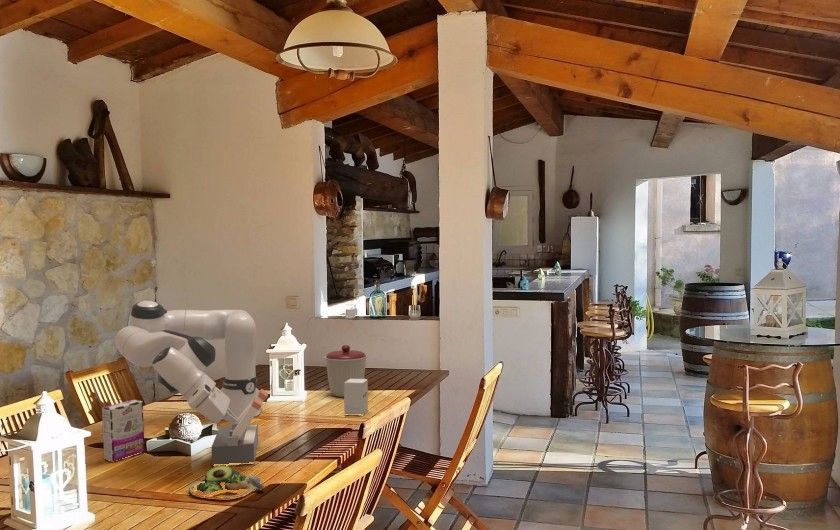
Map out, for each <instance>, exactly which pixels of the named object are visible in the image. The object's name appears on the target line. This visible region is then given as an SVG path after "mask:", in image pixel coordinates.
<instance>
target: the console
mask: <svg viewBox="0 0 840 530" xmlns="http://www.w3.org/2000/svg"><path fill="white" fill-rule="evenodd" d="M237 418H238V417H237ZM237 425H238V423H235V424H234V425H232V424H231V425H220V426H219V428H218V430H217V432H216V435H215V438H214V440H213V442H212V444H211V466H212V465H214V464H229V463H249V462H254V461H255V462H256V458H255V455H256V456H257V452H256V450H257V451H258V447H257V445H259V424H258V423H255V424H251V423H250V424H249V425H248V427H247V428H246V430H245V431H244V433H243V434H242V436H241V437H240V439H239V440H238V436H233V437H232V433H233V431H234V429H235V428H236V426H237Z"/></svg>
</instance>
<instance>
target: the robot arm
mask: <svg viewBox="0 0 840 530" xmlns="http://www.w3.org/2000/svg"><path fill="white" fill-rule="evenodd" d="M256 327H257V325H256V322H255V320H254V318H253V317H252V315H251V314H250V313H249V312H247V310H243V309H216V310H215V309H214V310H212V309H211V310H202V309H197V310H196V309H173V310H167V309H165V308H164V306H163V305H161V303H159V302H158V301H157V302H156V301H152V300H142V301H137V302H136V303H135V304H133V305H132V308H131V312H130V322H129V325H128V326H125V327H123V328H121V329H120V330H118V332H117V333H116V335H115V339H114V343H115V347H116V349H117V350H118V351H119V352H118V353H120V354H121V356H123V358H125V359H126V360H127V361H128V362H129V363H132V364H133V365H135V366H136V367H137V366H138V367H141V368H142V367H143V368H148V367H153V369H154V370H155V371H156V372H157V383H158V384H161V385H162V387H164V388H165V389H166V390H167V391H168V392H169V394H170V395H171V394H179V393H180V396H182V397H183V398H184V399H185V400H186V401H187V404H188V407H190V408H191V409H192V410H197V411H198V412H199V413H200V414H201V415H202V416H203V417H205V418H206V419H207V420H208V421H210V422H211V423H213V424H215V425H218V424H219V423H220V422H221V421H222V420H223V421H226V422H229V423H230V424H231V426H232V425H234V424H235V423H236V422H237V420H238V418H237V417H239V416H240V415H241V414H242V412H243V411H244V410H245V409H246V408H247V406H248V405H249V404H250V403H251V401H252V400H253V399H254V398H255V397H256V395H257V394H258V392H259V391H260V390H259V389H258V388H257V386H258V377H257V375H256V348H257V347H256V346H257V345H256V343H257V341H256V339H257V338H256V337H257V328H256ZM211 340H224V371H225V373H224V375H225V376H224V378H221V379H220V380H221V383H222V386H221V389H219V388H218V387H217V386H216V385H217V383H216V382H215V381H214V380H213V379H212V378H210V377H209V376H208V374H207V373H205V372H204V371H205V370H206V368H208V367H209V366H211V365H212V364H213V363H214V362H215V360H216V352H217V351H216V348H215V347H214V345H213V344H212V343H211V342H210V341H211ZM262 411H263V406H261V408H260V409H259V410H258V412H257V413H256V415H255V416H254V417H257V416H260V415H261V413H262Z"/></svg>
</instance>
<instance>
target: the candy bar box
mask: <svg viewBox="0 0 840 530" xmlns="http://www.w3.org/2000/svg"><path fill="white" fill-rule="evenodd" d="M101 417H102V419H101V420H102V437H103V438H102V441H103V460H104V459H106V460H110V461H116V460H119V459H122V458H125V457H128V456H131V455H134V454H137V453H140V452H143V451H145V452H146V449H145V448H146V446H145V429H144V427H145V426H144V424H145V423H144V403H143V400H139V399H131V400H127V401H123V402H119V403H115V404H111V405H107V406H106V405H105V406H103V407H101Z"/></svg>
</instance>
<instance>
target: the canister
mask: <svg viewBox="0 0 840 530" xmlns="http://www.w3.org/2000/svg"><path fill="white" fill-rule="evenodd" d="M323 358H324V359H325V363H326V373H327V380H328V388H329V392H330V393H331V395H332V396H334V397H339V398H344V382H346V381H347V380H349V379H365V370H366V364H367V363H366V359H367V358H368V354H366V353H365V352H363V351H359V350H352V349H351V346H350V345H348V344H344V345H342V346H341V350H335V351H331V352H329V353H327V354H326V355H324V357H323Z"/></svg>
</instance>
